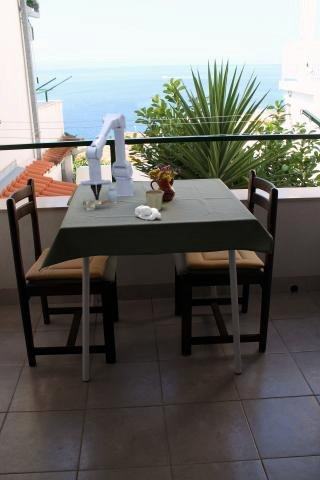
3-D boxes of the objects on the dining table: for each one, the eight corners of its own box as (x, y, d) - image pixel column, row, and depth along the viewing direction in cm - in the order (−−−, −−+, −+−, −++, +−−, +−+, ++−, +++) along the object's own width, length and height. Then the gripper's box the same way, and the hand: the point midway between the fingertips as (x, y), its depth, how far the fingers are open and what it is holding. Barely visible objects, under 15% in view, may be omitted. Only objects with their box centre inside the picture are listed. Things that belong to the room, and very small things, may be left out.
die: (95, 208, 245) (94, 200, 244) (95, 210, 241) (94, 202, 240) (87, 208, 245) (86, 201, 243) (86, 211, 241) (86, 203, 240)
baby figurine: (163, 220, 226) (155, 208, 220) (140, 229, 229) (131, 218, 223) (162, 207, 231) (154, 195, 226) (139, 216, 235) (131, 204, 229)
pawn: (116, 200, 256) (116, 184, 253) (117, 202, 252) (116, 186, 249) (108, 200, 255) (107, 184, 252) (108, 203, 251) (107, 187, 248)
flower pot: (154, 205, 247) (154, 188, 244) (168, 209, 241) (168, 191, 238) (140, 209, 241) (140, 192, 238) (154, 213, 235) (153, 195, 232)
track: (116, 200, 256) (116, 197, 256) (116, 204, 251) (116, 200, 250) (83, 202, 255) (83, 198, 254) (83, 205, 249) (83, 201, 249)
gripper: (79, 174, 232) (81, 202, 237) (110, 173, 234) (112, 201, 238) (80, 171, 239) (82, 198, 244) (110, 169, 240) (112, 197, 245)
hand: (97, 199), depth 241 cm, fingers closed
